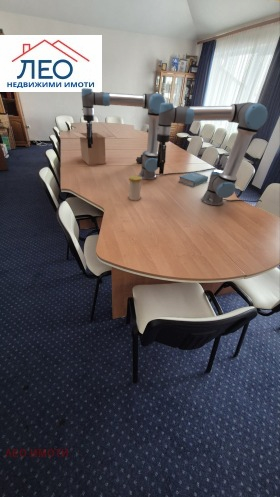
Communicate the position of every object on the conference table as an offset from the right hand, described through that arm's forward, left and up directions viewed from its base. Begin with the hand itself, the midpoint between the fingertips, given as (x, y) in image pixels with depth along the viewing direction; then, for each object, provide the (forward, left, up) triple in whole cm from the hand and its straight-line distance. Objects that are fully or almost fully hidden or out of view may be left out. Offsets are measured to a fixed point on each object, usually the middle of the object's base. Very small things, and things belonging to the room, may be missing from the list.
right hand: (159, 170), depth 143 cm
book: (-39, -53, -25) cm, 71 cm away
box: (+58, -103, -25) cm, 121 cm away
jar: (+15, -12, -25) cm, 32 cm away
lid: (+15, -12, -10) cm, 22 cm away
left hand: (+50, -44, +3) cm, 67 cm away
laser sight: (+1, -104, -25) cm, 107 cm away
